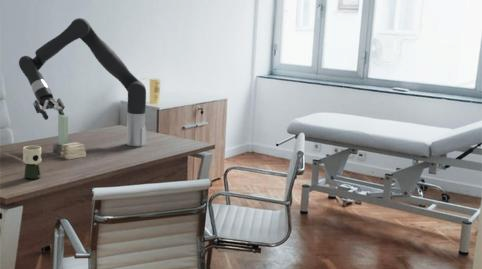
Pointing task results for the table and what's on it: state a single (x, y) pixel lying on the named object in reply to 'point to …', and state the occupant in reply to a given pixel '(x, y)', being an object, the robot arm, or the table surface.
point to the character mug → (32, 161)
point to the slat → (62, 129)
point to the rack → (68, 151)
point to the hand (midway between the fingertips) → (55, 118)
